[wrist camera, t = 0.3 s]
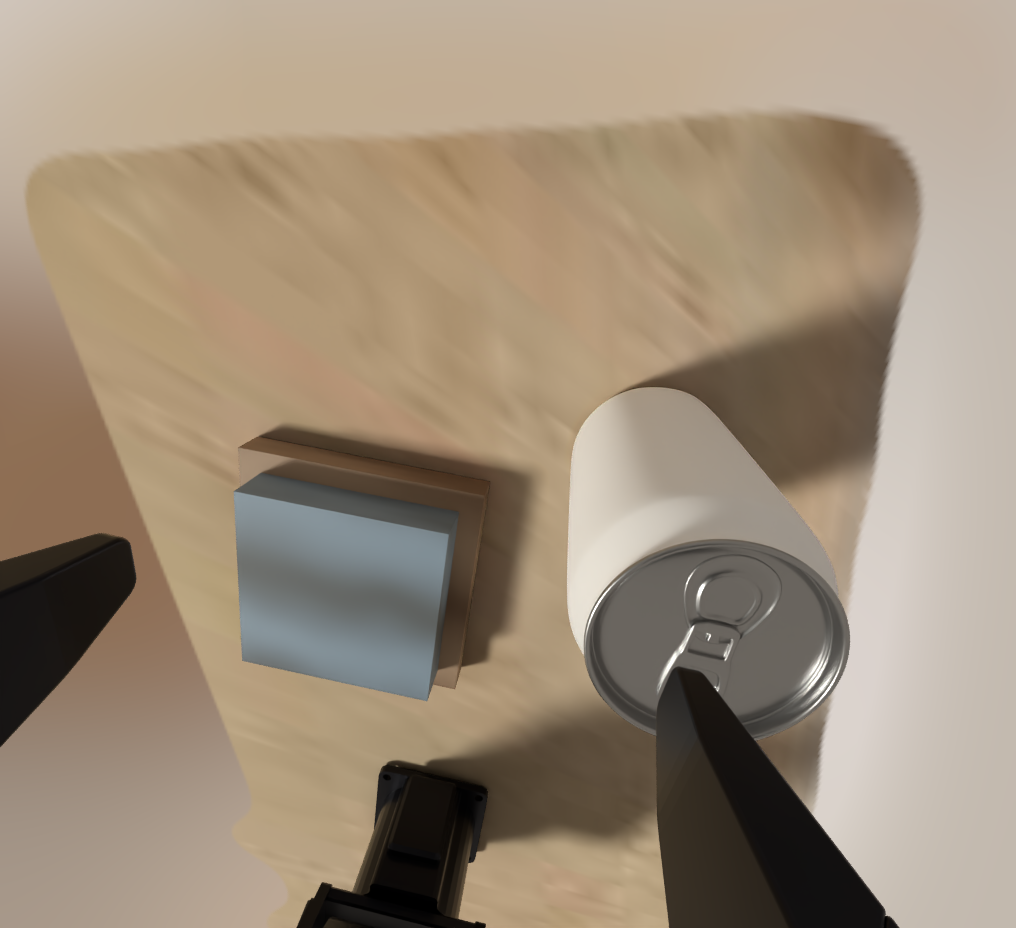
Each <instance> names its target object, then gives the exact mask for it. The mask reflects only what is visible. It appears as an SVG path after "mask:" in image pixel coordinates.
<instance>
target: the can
mask: <svg viewBox="0 0 1016 928" xmlns="http://www.w3.org/2000/svg"><path fill="white" fill-rule="evenodd" d="M567 605H568V613H569V619H570V624H571V628H572V632H573V634H574V637H575V639H576V642H577V644H578V646H579V648H580V649H581V651H582V653H583V655H584V658H585V663H586V667H587V671H588V673H589V676H590V678H591V681H592V683H593V685H594V686H595V688H596V690H597V691H598V693H599V694H600V696H601V697H602V698H603V700H604V701H605V702H606V703H607V704H608V705H609V706H610V707H611V709H613V710H614V711H615V712H616V713H617V714H618V715H619V716H621V717H622V718H623V719H625V720H626V721H628V722H629V723H631V724H632V725H634V726H636V727H637V728H639V729H641V730H643V731H645V732H647V733H650V734H652V735H655V736H656V711H657V705H658V701H659V699H660V696H661V694H662V692H663V690H664V687H665V685H666V683H667V680H668V678H669V676H670V673H671V671H672V670H673V669H674V668H675V667H677V666H681V667H685V668H689V669H694V670H698V671H700V672H702V673H703V674H704V675H705V676H706V677H707V679H708V680H709V681H710V682H711V684H712V685H713V686H714V688H715V689H716V690H717V692H718V693H719V694H720V695H721V697H722V698H723V699H724V701H725V702H726V703H727V705H728V706H729V707H730V708H731V710H732V711H733V712H734V714H735V715H736V716H737V718H738V719H739V720H740V721H741V723H742V724H743V725H744V727H745V728H746V729H747V731H748V732H749V733H750V734H751V736H752V737H753V738H754V740H755V741H756V740H760V739H763V738H766V737H769V736H772V735H775V734H777V733H779V732H782V731H784V730H786V729H788V728H790V727H792V726H793V725H795V724H797V723H798V722H800V721H802V720H803V719H805V718H806V717H807V716H809V715H810V714H811V713H812V712H814V711H815V710H816V709H817V708H818V707H819V706H820V705H821V704H822V703H823V702H824V701H825V700H826V699H827V698H828V697H829V695H830V694H831V693H832V691H833V690H834V689H835V687H836V685H837V684H838V682H839V680H840V678H841V676H842V674H843V672H844V669H845V667H846V663H847V660H848V655H849V648H850V631H849V625H848V620H847V617H846V614H845V611H844V608H843V606H842V604H841V602H840V600H839V598H838V588H837V582H836V577H835V573H834V569H833V567H832V564H831V562H830V559H829V557H828V555H827V553H826V552H825V550H824V548H823V546H822V545H821V543H820V541H819V540H818V538H817V537H816V536H815V534H814V533H813V532H812V530H811V529H810V528H809V526H808V525H807V524H806V522H805V521H804V520H803V519H802V517H801V516H800V515H799V514H798V512H797V511H796V510H795V509H794V508H793V506H792V505H791V504H790V503H789V501H788V500H787V499H786V498H785V497H784V495H783V494H782V493H781V492H780V490H779V489H778V488H777V487H776V486H775V484H774V483H773V482H772V481H771V480H770V478H769V477H768V476H767V475H766V474H765V472H764V471H763V470H762V469H761V468H760V466H759V465H758V464H757V463H756V462H755V460H754V459H753V458H752V457H751V456H750V454H749V453H748V452H747V451H746V450H745V448H744V447H743V446H742V445H741V444H740V443H739V441H738V440H737V439H736V438H735V437H734V435H733V434H732V433H731V432H730V431H729V430H728V428H727V427H726V426H725V425H724V424H723V423H722V421H721V420H720V419H719V418H718V417H717V416H716V415H715V414H714V413H713V412H712V410H711V409H710V408H708V407H707V406H706V405H705V404H704V403H703V402H701V401H700V400H699V399H697V398H696V397H694V396H693V395H691V394H688V393H686V392H683V391H680V390H676V389H671V388H662V387H645V388H637V389H632V390H629V391H626V392H623V393H620V394H618V395H616V396H614V397H612V398H610V399H609V400H607V401H605V402H604V403H603V404H601V405H600V406H599V407H598V408H597V409H595V410H594V411H593V412H592V413H591V415H590V416H589V417H588V418H587V419H586V421H585V422H584V424H583V425H582V427H581V429H580V431H579V433H578V435H577V437H576V440H575V443H574V447H573V452H572V460H571V477H570V502H569V529H568V562H567Z"/></svg>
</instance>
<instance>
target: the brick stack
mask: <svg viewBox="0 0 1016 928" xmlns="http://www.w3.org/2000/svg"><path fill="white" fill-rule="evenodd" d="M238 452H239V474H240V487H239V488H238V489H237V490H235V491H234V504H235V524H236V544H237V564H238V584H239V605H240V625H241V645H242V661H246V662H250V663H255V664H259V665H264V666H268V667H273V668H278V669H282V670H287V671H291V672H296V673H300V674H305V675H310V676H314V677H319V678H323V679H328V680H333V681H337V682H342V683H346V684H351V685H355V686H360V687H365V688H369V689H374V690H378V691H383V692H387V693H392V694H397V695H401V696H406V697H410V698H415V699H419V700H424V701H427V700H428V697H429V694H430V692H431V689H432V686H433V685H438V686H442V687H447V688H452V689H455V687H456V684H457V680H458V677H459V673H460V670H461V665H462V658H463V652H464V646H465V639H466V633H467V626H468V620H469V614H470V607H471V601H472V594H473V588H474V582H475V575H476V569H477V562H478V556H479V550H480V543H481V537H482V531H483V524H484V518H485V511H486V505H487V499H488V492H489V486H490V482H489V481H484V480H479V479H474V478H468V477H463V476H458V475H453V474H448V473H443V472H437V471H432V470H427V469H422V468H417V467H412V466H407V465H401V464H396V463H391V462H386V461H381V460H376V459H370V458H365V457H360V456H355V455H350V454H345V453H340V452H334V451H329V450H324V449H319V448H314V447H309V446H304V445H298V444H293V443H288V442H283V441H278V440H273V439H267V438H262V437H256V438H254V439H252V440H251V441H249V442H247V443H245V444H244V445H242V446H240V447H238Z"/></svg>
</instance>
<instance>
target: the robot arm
mask: <svg viewBox="0 0 1016 928" xmlns="http://www.w3.org/2000/svg"><path fill="white" fill-rule="evenodd" d="M135 583H136V572H135V566H134V561H133V555H132V550H131V545H130V543H129V542H128V540H126V539H125V538H123V537H119V536H114V535H110V534H104V533H99V534H94V535H91V536H87V537H84V538H80V539H77V540H73V541H70V542H66V543H63V544H59V545H56V546H52V547H49V548H45V549H42V550H38V551H35V552H31V553H28V554H25V555H21V556H18V557H14V558H11V559H7V560H4V561H0V747H1V746H2V745H3V744H4V743H5V742H6V741H7V739H8V738H9V737H10V736H11V735H12V734H13V733H14V732H15V731H16V730H17V729H18V727H20V726H21V724H22V723H23V722H24V721H25V720H26V719H27V718H28V717H29V716H30V715H31V714H32V712H33V711H34V710H35V709H36V708H37V707H38V706H39V705H40V704H41V703H42V702H43V701H44V700H45V699H46V697H47V696H48V695H49V694H50V693H51V692H52V691H53V690H54V689H55V688H56V687H57V686H58V684H59V683H60V682H61V681H62V680H63V679H64V678H65V676H66V675H67V674H68V673H69V672H70V671H71V669H72V668H73V667H74V666H75V664H76V663H77V662H78V661H79V660H80V658H81V657H82V656H83V654H84V653H85V652H86V650H87V649H88V648H89V647H90V645H91V644H92V643H93V641H94V640H95V639H96V638H97V636H98V635H99V634H100V632H101V631H102V630H103V629H104V627H105V626H106V625H107V623H108V622H109V621H110V619H111V618H112V617H113V616H114V614H115V613H116V612H117V611H118V609H119V608H120V607H121V605H122V604H123V603H124V601H125V600H126V599H127V598H128V596H129V595H130V594H131V592H132V590H133V589H134V586H135ZM656 767H657V820H658V832H659V841H660V850H661V859H662V868H663V876H664V885H665V894H666V903H667V912H668V920H669V928H899V927H898V926H897V924H896V923H895V921H894V920H893V919H892V918H891V917H890V916H885V915H886V913H885V909H884V907H883V906H882V905H881V903H880V902H879V901H878V900H877V898H876V897H875V896H874V894H873V893H872V892H871V890H870V889H869V888H868V887H867V885H866V884H865V883H864V881H863V880H862V879H861V877H859V875H858V874H857V872H856V871H855V870H854V868H853V867H852V866H851V864H850V863H849V862H848V861H847V859H846V858H845V857H844V855H843V854H842V853H841V851H840V850H839V849H838V848H837V846H836V845H835V844H834V842H833V841H832V840H831V838H830V837H829V836H828V835H827V833H826V832H825V831H824V829H823V828H822V827H821V825H820V824H819V823H818V822H817V820H816V819H815V818H814V816H813V815H812V814H811V812H810V811H809V810H808V809H807V807H806V806H805V805H804V803H803V802H802V801H801V799H800V798H799V797H798V796H797V794H796V793H795V792H794V790H793V789H792V788H791V786H790V785H789V784H788V783H787V781H786V780H785V779H784V777H783V776H782V775H781V773H780V772H779V771H778V770H777V768H776V767H775V766H774V764H773V763H772V762H771V760H770V759H769V758H768V757H767V755H766V754H765V753H764V751H763V750H762V749H761V747H760V746H759V745H758V744H757V742H756V741H755V740H754V738H753V737H752V736H751V734H750V733H749V732H748V731H747V729H746V728H745V727H744V725H743V724H742V723H741V721H740V720H739V719H738V718H737V716H736V715H735V714H734V712H733V711H732V710H731V708H730V707H729V706H728V705H727V703H726V702H725V701H724V699H723V698H722V697H721V695H720V694H719V693H718V692H717V690H716V689H715V688H714V686H713V685H712V684H711V682H710V681H709V680H708V679H707V677H706V676H705V675H704V674H703V673H702V672H700V671H698V670H694V669H689V668H685V667H681V666H677V667H675V668H674V669H673V670H672V671H671V673H670V676H669V678H668V680H667V683H666V685H665V687H664V690H663V692H662V694H661V696H660V699H659V701H658V705H657V711H656ZM487 798H488V791H487V789H486V788H484V787H482V786H478V785H474V784H469V783H465V782H461V781H456V780H452V779H447V778H443V777H439V776H434V775H430V774H425V773H421V772H416V771H412V770H408V769H403V768H399V767H394V766H390V765H386V766H383V767H382V769H381V771H380V774H379V779H378V791H377V802H376V813H375V825H374V832H373V835H372V837H371V840H370V843H369V846H368V849H367V852H366V854H365V857H364V860H363V863H362V866H361V869H360V871H359V874H358V877H357V880H356V883H355V886H354V888H353V891H352V892H350V891H346V890H342V889H339V888H335V887H332V884H328V883H324V882H322V883H321V885H320V887H319V889H318V891H317V893H316V895H315V897H314V898H311V900H308V902H307V904H306V906H305V909H304V911H303V914H302V916H301V918H300V921H299V923H298V926H297V928H485V927H486V924H485V923H481V922H477V921H476V922H475V923H472V922H468V921H464V920H460V919H458V917H459V911H460V906H461V900H462V895H463V889H464V884H465V878H466V873H467V867H468V863H472V862H474V860H475V857H476V852H477V847H478V842H479V837H480V832H481V828H482V823H483V818H484V813H485V808H486V803H487Z"/></svg>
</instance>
